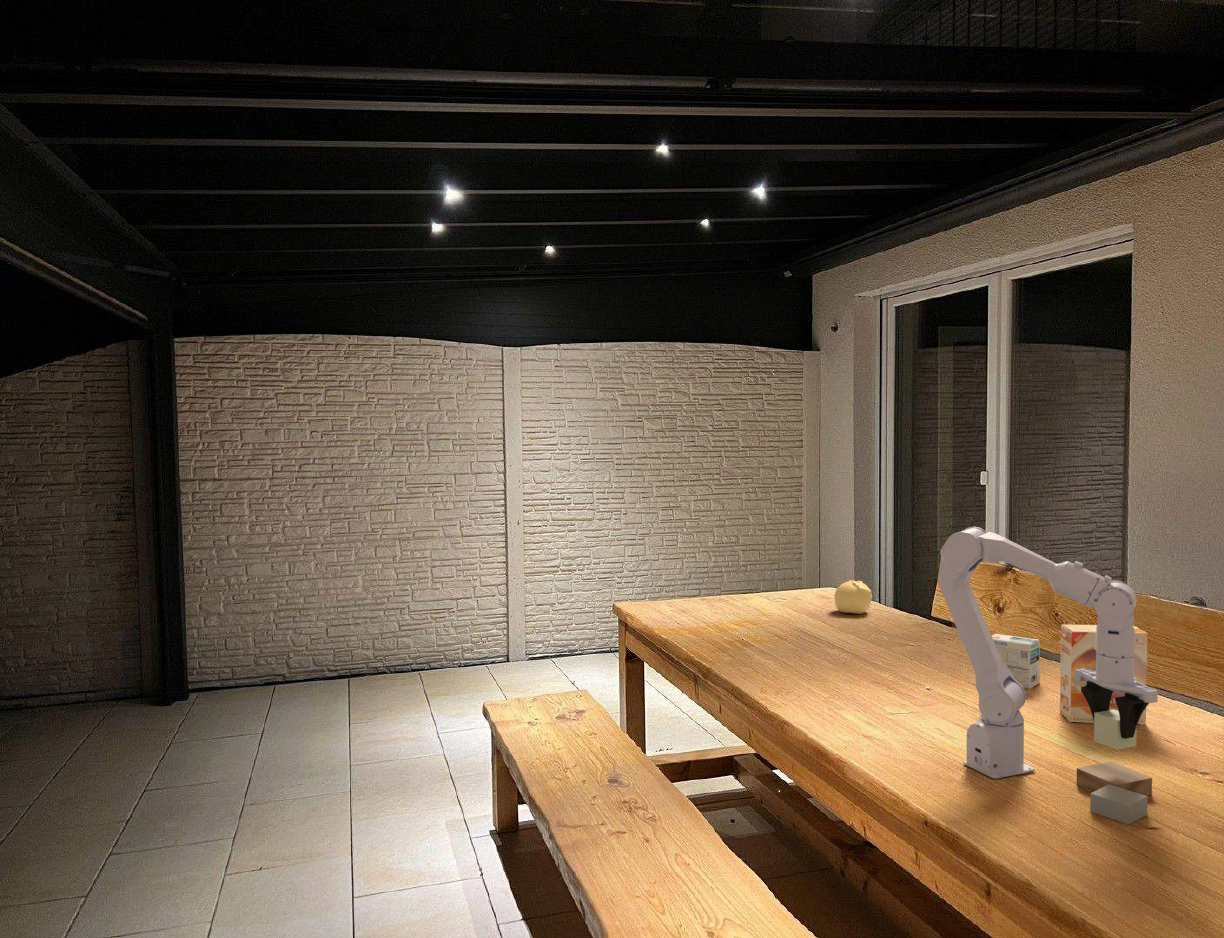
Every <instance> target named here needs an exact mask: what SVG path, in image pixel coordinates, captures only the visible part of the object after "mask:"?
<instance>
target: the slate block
mask: <svg viewBox="0 0 1224 938" xmlns="http://www.w3.org/2000/svg"><path fill="white" fill-rule="evenodd" d="M1089 800H1090V802H1089V804H1090V806H1089V807H1090V813H1093V814H1096V815H1099V816H1102V817H1105V818H1109V819H1111V820H1113V821H1114V820H1115V821H1117V822H1120V823H1124V824H1126V825H1129V826H1130V825H1131V824H1133V823H1135V822H1136V821H1138V820H1140V819H1141V818H1144V817H1145V816H1148V796H1145V795H1142V794H1138V793H1135V792H1132V791H1129V790H1126V789H1122V788H1119V787H1116V786H1113V785H1107V786H1105V787H1103V788H1101V789H1099V790H1097V791H1095V792H1091V793H1090V799H1089Z"/></svg>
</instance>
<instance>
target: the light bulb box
mask: <svg viewBox="0 0 1224 938" xmlns="http://www.w3.org/2000/svg"><path fill="white" fill-rule="evenodd" d="M991 636H992V638H993V641H994V643H995V645H996V648H997V650H998V653H999V655H1000V657H1001V660H1002V662H1003V663H1004V664H1005V665H1006V666H1007V667H1008V668H1009V669H1010V671H1011V673H1012V675H1013V677H1014V679H1015V680H1016V681H1017V682H1018V683H1020V684H1021V686H1022V687H1023V688H1024V689H1032V688H1034V687H1036V686H1037V685H1038V684H1040V683H1041V667H1040V666H1041V663H1040V662H1041V661H1040V660H1041V657H1040V656H1041V654H1040V653H1041V652H1040V650H1041V644H1040V643H1041V642H1040V641H1041V640H1040V639H1038V638H1030V637H1029V638H1028V637H1023V636H1014V635H1008V634H999V633H995V634H993V635H992V634H991Z"/></svg>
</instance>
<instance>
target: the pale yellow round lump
mask: <svg viewBox="0 0 1224 938" xmlns="http://www.w3.org/2000/svg"><path fill="white" fill-rule="evenodd" d="M872 600H873V592H872V590H871V589H870V588H869V586H868V585H867V584H865V583H864V582H863V581H862V580H857V581H856V580H854V579H853V580H852V579H849V580H848V581H846V582H842V583H841V584H840V585H839V586H838V587H837V588H836V590H835V592H834V604H835V607H836V609H837V610H838V611H839V612H840V613H846V614H847V613H848V614H850V613H851V614H857V615H858V614H859V615H862V614H865V613H866V612H867V611H868V610H869V609H870V608H871V603H872Z"/></svg>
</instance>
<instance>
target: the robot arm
mask: <svg viewBox="0 0 1224 938" xmlns="http://www.w3.org/2000/svg"><path fill="white" fill-rule="evenodd" d="M998 562H999V563H1000V562H1003V563H1007V564H1009V565H1011V566H1014V567H1016V568H1018V569H1020V570H1022V571H1023V570H1024V571H1025V572H1027V573H1031V574H1033V575H1035V576H1038V577H1040V578H1042V579H1044V580H1047V581H1048V582H1049V584H1050V586H1051V589H1052V590H1053V591H1054V592H1056V593H1058V594H1061V595H1062V596H1065V597H1066V598H1069V599H1071V600H1073V601H1075V602H1077V603H1079V604H1082V605H1084V606H1086V607H1088V608H1093V609H1094V610H1095V612H1096V613H1097V624H1096V625H1097V627H1096V630H1097V632H1096V671H1092V670H1088V669H1084V668H1083V669H1076V670H1075V680H1077V681H1080V682H1081V681H1084V682H1087V685H1086V686H1084V687H1081V692H1082V693H1083V695H1084V697H1085V698H1086V700H1087V702H1088V704H1089V707H1090V710H1091V713H1092V716H1093V720H1094V713H1095V712H1101V711H1107V710H1109V706H1110V701H1111V697H1112V693H1113V691H1116V692H1119V693H1122V694H1125V697H1124V696H1122V697H1115V701H1116V704H1117V707H1118V711H1119V716H1120V733H1121V738H1124V739H1127V738H1132V737H1134V733H1135V730H1136V726H1137V727H1138V725H1137V724H1138V721H1139V719H1140V717H1141V715H1142V713H1143V711H1144V710H1145V708H1146V709H1147V707H1148V706H1149V705H1150V704H1151V703H1156V702H1157V703H1158V690H1157V689H1155V688H1151V687H1149V686H1145V685H1143V684H1141V683H1139V682H1137V681H1136V678H1134V655H1135V629H1134V627H1133V626H1135V617H1134V616H1135V615H1134V610H1135V607H1136V605H1137V602H1138V601H1137V595H1136V592H1135V591H1134V589H1133V588H1132V587H1131V586H1130V585H1128V584H1126V583H1125V582H1124V581H1122V580H1113V579H1112V577H1110V575H1109V576H1108V575H1107V574H1106V575H1105V576H1102V575H1100V574H1097V573H1095V572H1093V571H1091V570H1088V569H1087V568H1084V567H1083V566H1084V563H1082V562H1081V561H1080V562H1079V561H1074V563H1073V562H1071V561H1068V560H1067V561H1063V562H1060V563H1056V562H1054V561H1053V560H1050V559H1048V558H1046V557H1044V556H1043V555H1040V554H1038V553H1035V552H1034V551H1031V550H1030V549H1027V548H1026V547H1024V546H1022V545H1020V544H1018V543H1016V542H1014V541H1011V539H1009V538H1006V537H1004V536H1002V535H999V534H998V533H994V532H991V531H988V532H987V531H986V530H985V529H983V528H982V527H977V526H970V527H967V528H965V529H963V530H961V531H958V532H955V533H952V534H951V535H950V536H949V537H948V538H947V539H946V541H945V542H944V544H943V546H942V547H941V548H940V563H939V569H938V575H937V583H938V586H939V589H940V592H941V593H942V596H943V599H944V601H945V603H946V605H947V607H948V610H949V612H950V615H951V617H952V619H953V622H954V625H955V627H956V629H957V631H958V634H959V637H960V639H961V641H962V644H963V646H964V648H965V651H966V654H967V656H968V658H969V661H970V663H971V665H972V668H973V670H974V672H975V688H976V691H977V693H978V709H979V712H980V718H979V720H978V721H977V722H975V723H974V722H973V723H972V724H970V725H969V727H968V728H967V730H966V760H964V761H963V765H965V766H966V767H969V768H971V769H973V770H975V771H978V772H979V773H981V774H983V775H986V777H987V776H988V777H989V778H992V779H995V780H996V779H1001V778H1006V777H1011V776H1016V775H1022V774H1028V773H1033V772H1036V769H1035V768H1034V767H1032V766H1031V765H1028V764H1026V763H1025V759H1024V757H1025V756H1024V754H1025V753H1024V752H1025V751H1024V749H1025V748H1024V746H1025V743H1024V742H1025V718H1024V717H1023V715H1022V712H1021V708H1023V706H1024V705H1025V703H1026V700H1027V699H1026V698H1027V697H1026V694H1027V693H1026V691H1025V688H1023V687H1022V686H1021V684H1020V683H1018V682H1017V681H1016V680H1015V679H1014V677H1013V675H1012V673H1011V671H1010V669H1009V668H1008V667H1007V666H1006V665H1005V664H1004V663H1003V662H1002V660H1001V657H1000V655H999V653H998V650H997V648H996V645H995V643H994V641H993V638H992V634H991V632H990V629H989V628H988V625H987V622H986V620H985V618H984V615H983V612H982V611H981V608H980V606H979V603H978V601H977V598H976V597H975V594H974V592H973V589H972V587H971V585H970V580H971V579H972V576H973V574H974V572H975V571H976V569H977V567H978V566H979V564H980V563H984V564H986V563H998Z"/></svg>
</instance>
